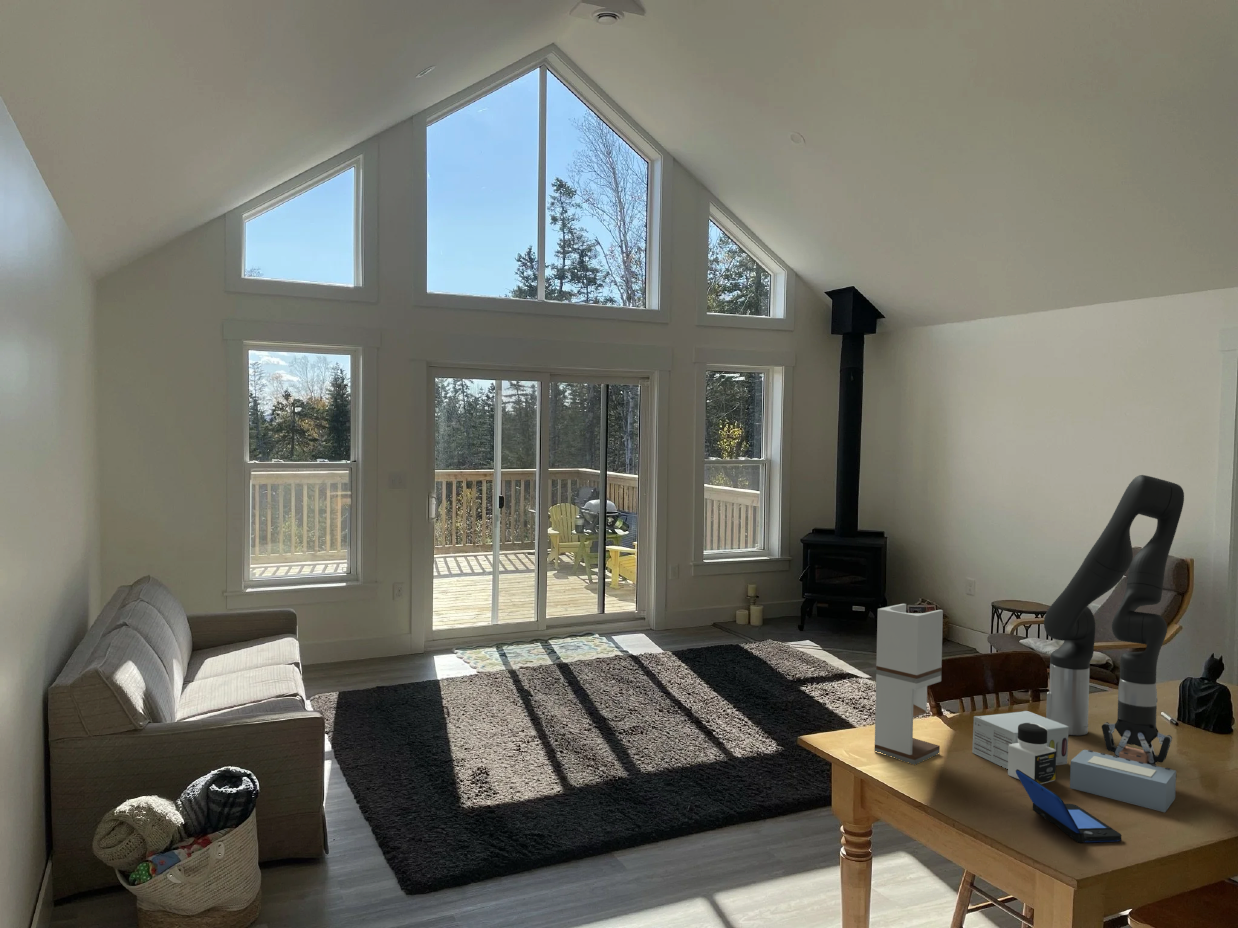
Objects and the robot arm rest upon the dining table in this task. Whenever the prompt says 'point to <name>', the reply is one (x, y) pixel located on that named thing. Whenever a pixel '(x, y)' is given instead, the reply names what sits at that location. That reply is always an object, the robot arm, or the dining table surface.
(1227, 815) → the dining table surface
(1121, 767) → the block
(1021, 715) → the supplement box
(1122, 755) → the stub
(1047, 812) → the handheld game console
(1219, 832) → the dining table surface
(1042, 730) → the medicine bottle
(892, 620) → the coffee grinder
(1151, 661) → the robot arm
